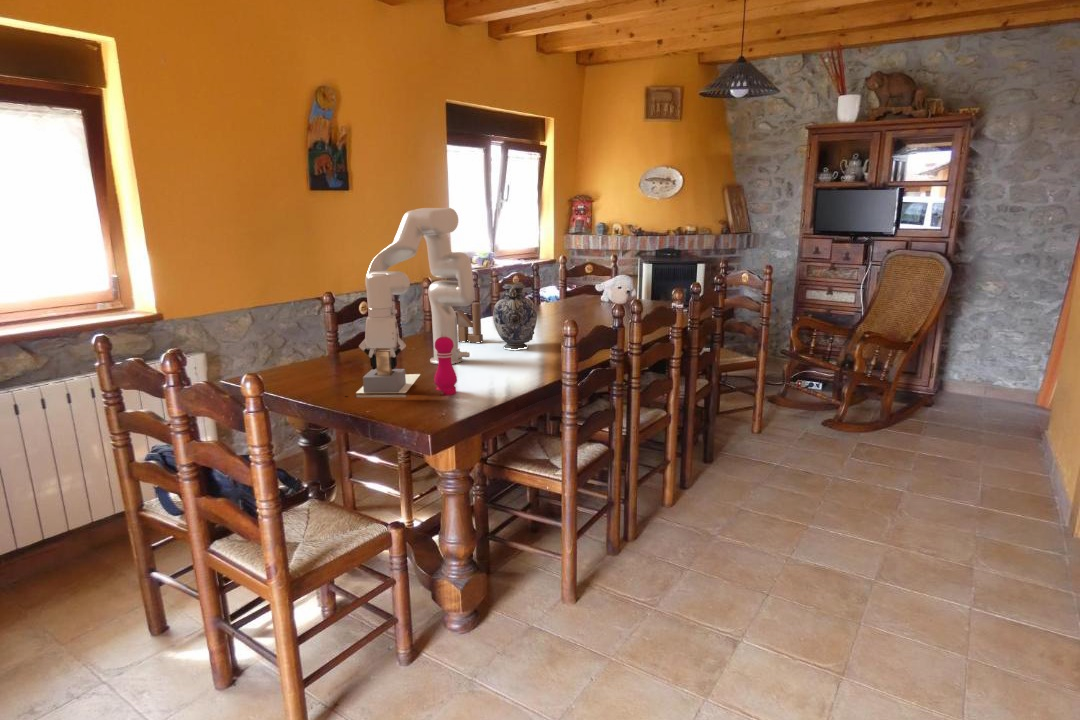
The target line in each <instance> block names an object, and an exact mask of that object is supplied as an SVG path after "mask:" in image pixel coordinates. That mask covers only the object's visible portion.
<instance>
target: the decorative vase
mask: <svg viewBox="0 0 1080 720" xmlns="http://www.w3.org/2000/svg"><path fill="white" fill-rule="evenodd" d="M525 288H526V285H525V284H524V282H520V281H514V282H513V281H511V282H505V283H504V285H503V286H502V289H505V292H506V293H505V297H504V298H502V299H499V300H498V301H497V302H496V303H495V305H494V307H493V311H492V312H493V315H492V317H493V324H494V328H495V330H496V333H497V334H498V336H499V337H500V339H501V340H503V342H505V343H506V344H504V345H503V348H504V347H505V348H511V349H518V348H524V347H527V345H528V344H526V343H530V341H532V340H533V338H534V334H535V329H536V325H537V321H538V312H537V311H538V310H537V306H536V304H535V303H534V302H533V300H531V299H530V298H529V297H525V296H524V289H525Z"/></svg>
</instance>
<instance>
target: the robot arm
mask: <svg viewBox="0 0 1080 720" xmlns="http://www.w3.org/2000/svg"><path fill="white" fill-rule="evenodd" d="M458 226H459V215H458V213H457V212H456V210H455V209H453V208H451V207H422V208H421V207H420V208H415V209H411V210H408V211H406V212H405V213H404V214H403V215H402V218H401V221H400V223H399V225H398V229H397V231H396V233H395V236H394V238H393V241H392V243H391V244H389V245H388V246H386V247H385V248H383V249H382V250H380V252H379V253H378V254H377V255H375V257H373V258H372V261H371V262H370V264H369V267H368V269H367V272H366V275H365V278H364V279H365V280H364V284H365V288H366V300H367V313H368V315H367V317H366V320H365V331H364V332H365V333H364V336H365V337H364V339H363V340H362V341H361V342H360V344H359V345H358V348H359V349H361V351H363V352H364V353H365V354H366V355H367V356H368V357H369V360H370V361H369V362H370V367H372V369H373V370H374V369H377V360H376V352H377V351H376V350H378V349H379V350H390V352H391V354H392V357H391V369H396V367H398V359H397V356H398V355H399V354H400V353H401V351H403V350H404V349H405V348H406V347H407V344H406V342H404V341H403V339H401V338H400V335H399V334H400V333H399V327H398V322H397V321H398V320H397V318H396V316H394V315H395V314H398V309H395V308H394V307H393V300H392V295H395V296H397V295H398V296H399V295H403V294H405V293H407V291H409V288H410V286H411V281H410V278H409V276H408V275H407V274H406V273H405V272H403V271H398V270H394V271H391V270H390V271H389V269H390V268H391V267H393V266H395V265H397V264H399V263H401V262H404V261H407V260H409V259H411V258H413V257H414V256H416V255H417V252H418V250H419V248H420V244H421V242H422V239H423V238H424V241H425V243H426V248H427V258H428V267H429V271H430V274H431V275H432V276H433V277H435V278H442V279H456V280H435V281H434V282H432V283H430V285H429V286H428V290H427V294H428V299H429V300H428V301H429V302H430V303H429V304H430V308H431V309H430V311H431V323H432V345H433V357H431V358H430V359H429V361H430V363H431V364H432V365H433V364H434V365H438V357H437V352H438V351H437V350H436V349H435V341H436V340H437V339H438V338H440V337H441V333H442V332H445V333H446V334H447V336H446V337H449V338H450V339H452V341H453V344H454V347H453V349H452V350H451V352H452V355H453V356H452V357H451V363H452V365H456V364H459V362H460V363H462V362H463V358H470V355H471V354H470V351H469V352H468V351H461V349H460V348H459V340H458V315H457V312H456V311H455V310H454V308H453V307H469V306H470V305H472V303H474V302H473V301H474V298H475V289H474V278H473V267H472V265H473V264H472V261H471V259H470V257H469V255H468V254H466V253H464V252H452V250H451V244H450V238H449V236H448V234H450V233H453V232H455V230H457V228H458ZM397 346H399V347H398V348H397ZM396 348H397V349H396ZM461 361H462V362H461ZM455 363H456V364H455ZM372 369H371V370H372Z"/></svg>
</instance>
